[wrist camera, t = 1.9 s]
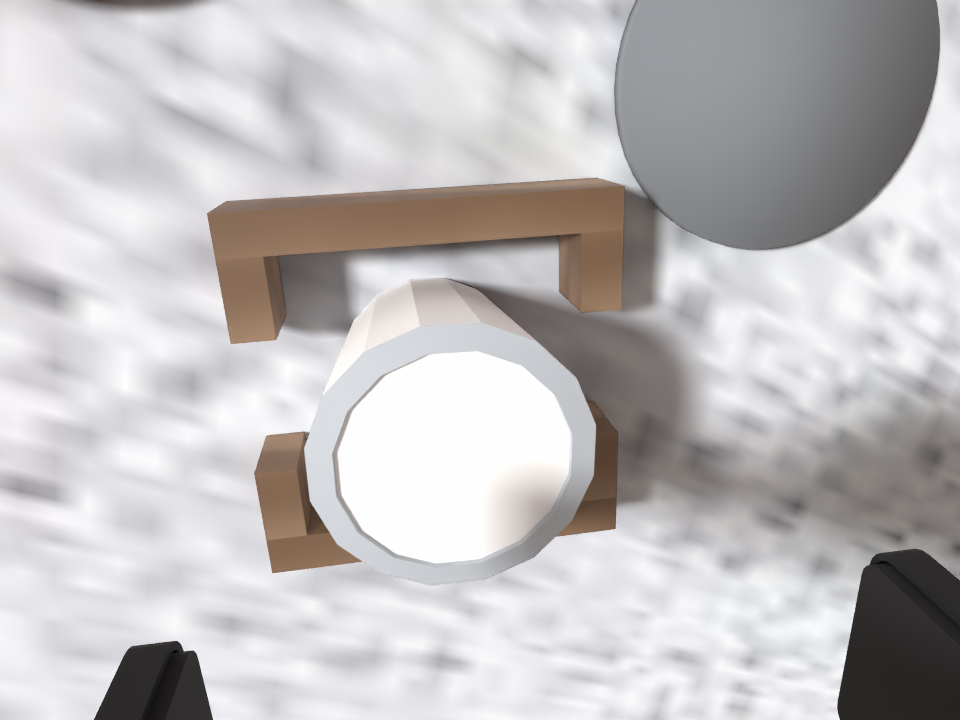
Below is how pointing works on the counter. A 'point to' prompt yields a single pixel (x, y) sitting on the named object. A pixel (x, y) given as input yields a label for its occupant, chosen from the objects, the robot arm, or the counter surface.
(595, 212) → the pocket
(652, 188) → the coaster
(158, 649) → the robot arm
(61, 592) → the counter surface
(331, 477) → the white cylinder
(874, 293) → the counter surface
